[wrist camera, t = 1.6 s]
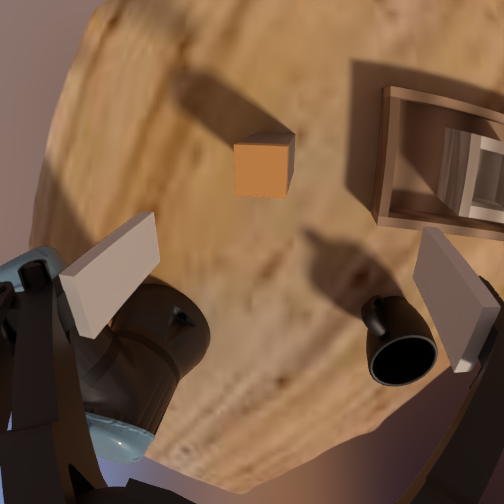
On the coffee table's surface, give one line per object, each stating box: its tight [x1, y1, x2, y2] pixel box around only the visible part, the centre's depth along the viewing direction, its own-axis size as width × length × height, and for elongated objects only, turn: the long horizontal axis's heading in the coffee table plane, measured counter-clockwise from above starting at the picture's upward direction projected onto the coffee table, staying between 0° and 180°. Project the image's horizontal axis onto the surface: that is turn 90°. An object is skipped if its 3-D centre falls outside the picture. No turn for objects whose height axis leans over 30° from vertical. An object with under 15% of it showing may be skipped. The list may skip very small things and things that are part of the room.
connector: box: [234, 133, 295, 199], centre depth 29 cm, size 4×4×11 cm
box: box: [371, 86, 504, 241], centre depth 27 cm, size 20×14×7 cm
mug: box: [361, 295, 438, 386], centre depth 35 cm, size 8×12×10 cm
